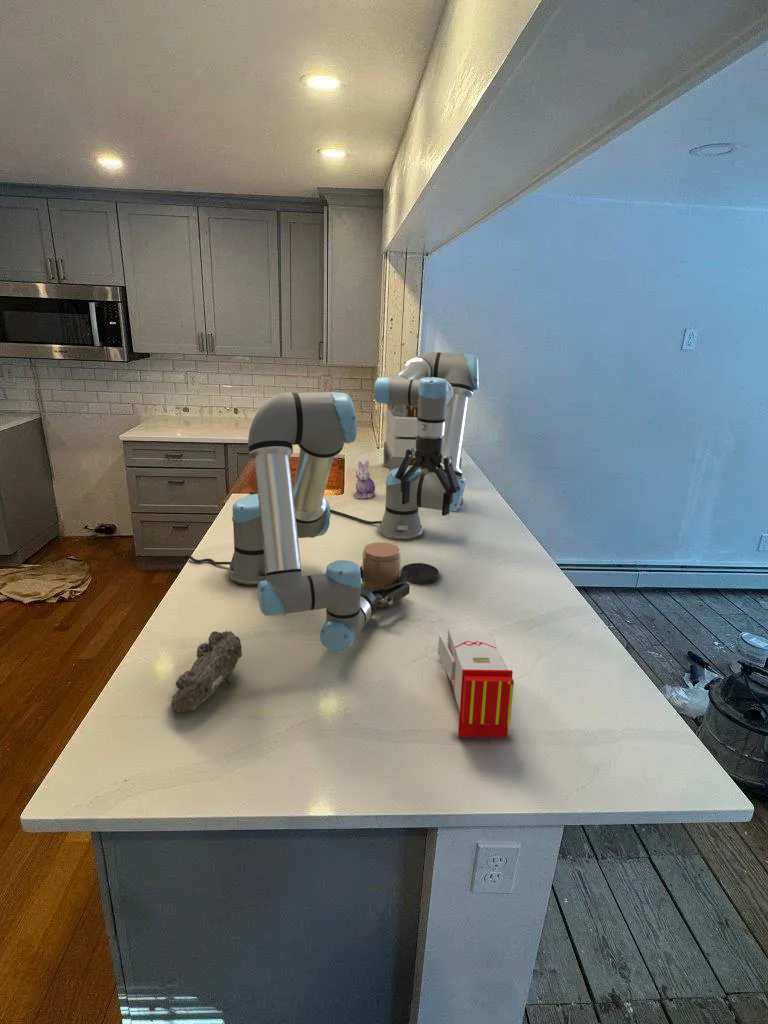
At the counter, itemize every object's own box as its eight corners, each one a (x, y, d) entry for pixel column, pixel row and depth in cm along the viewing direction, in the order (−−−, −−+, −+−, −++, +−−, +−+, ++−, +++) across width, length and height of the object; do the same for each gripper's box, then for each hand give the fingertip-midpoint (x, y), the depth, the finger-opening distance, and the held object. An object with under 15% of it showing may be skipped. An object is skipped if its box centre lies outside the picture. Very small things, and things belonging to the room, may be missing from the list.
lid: (446, 578, 168) (446, 574, 167) (416, 587, 162) (417, 582, 161) (422, 564, 177) (423, 560, 176) (393, 572, 170) (394, 567, 170)
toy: (488, 613, 130) (523, 677, 101) (484, 667, 133) (517, 744, 104) (435, 612, 130) (455, 676, 101) (432, 666, 133) (451, 743, 103)
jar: (361, 588, 160) (363, 540, 155) (397, 590, 160) (400, 542, 155) (360, 606, 150) (361, 556, 146) (398, 607, 151) (401, 557, 146)
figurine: (359, 500, 232) (360, 465, 227) (349, 493, 240) (350, 458, 235) (380, 498, 236) (381, 463, 231) (369, 490, 244) (370, 457, 239)
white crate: (382, 463, 289) (386, 382, 275) (445, 464, 293) (451, 384, 279) (390, 482, 257) (394, 392, 243) (460, 483, 261) (468, 394, 247)
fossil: (194, 633, 127) (242, 602, 122) (224, 662, 130) (271, 633, 125) (149, 706, 107) (203, 673, 102) (185, 738, 110) (239, 707, 105)
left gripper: (313, 612, 141) (345, 576, 161) (403, 631, 135) (425, 590, 155) (313, 585, 139) (345, 552, 159) (405, 603, 133) (427, 566, 152)
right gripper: (385, 430, 159) (382, 501, 166) (463, 446, 145) (456, 523, 153) (400, 426, 164) (397, 495, 172) (477, 441, 151) (469, 515, 158)
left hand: (384, 571), depth 157 cm, fingers open, 11 cm apart
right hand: (425, 508), depth 162 cm, fingers open, 13 cm apart
